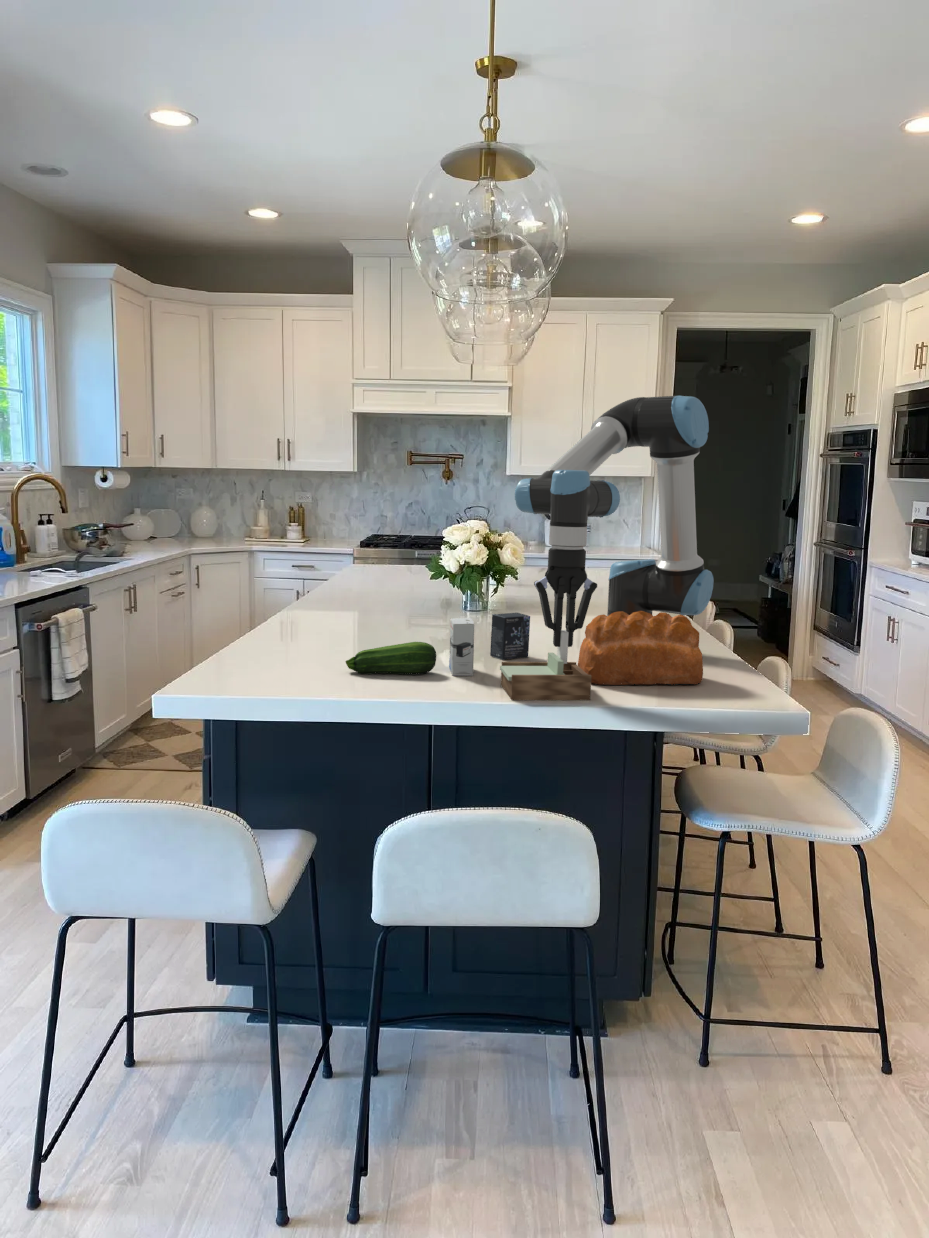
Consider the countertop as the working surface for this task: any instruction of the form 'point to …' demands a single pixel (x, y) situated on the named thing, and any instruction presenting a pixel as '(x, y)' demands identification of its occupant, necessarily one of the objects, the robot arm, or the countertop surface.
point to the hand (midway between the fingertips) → (562, 662)
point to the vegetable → (395, 659)
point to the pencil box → (548, 684)
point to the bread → (641, 650)
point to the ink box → (461, 646)
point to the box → (510, 636)
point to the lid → (536, 668)
